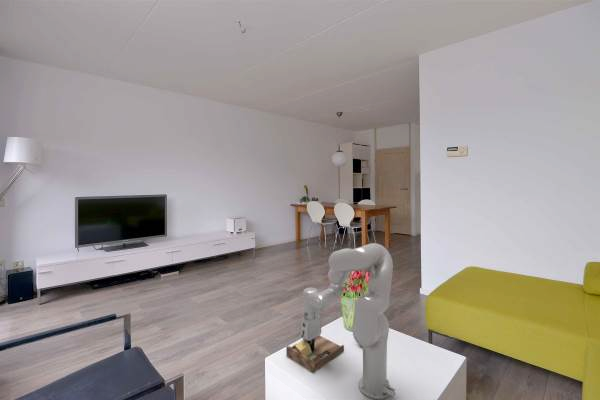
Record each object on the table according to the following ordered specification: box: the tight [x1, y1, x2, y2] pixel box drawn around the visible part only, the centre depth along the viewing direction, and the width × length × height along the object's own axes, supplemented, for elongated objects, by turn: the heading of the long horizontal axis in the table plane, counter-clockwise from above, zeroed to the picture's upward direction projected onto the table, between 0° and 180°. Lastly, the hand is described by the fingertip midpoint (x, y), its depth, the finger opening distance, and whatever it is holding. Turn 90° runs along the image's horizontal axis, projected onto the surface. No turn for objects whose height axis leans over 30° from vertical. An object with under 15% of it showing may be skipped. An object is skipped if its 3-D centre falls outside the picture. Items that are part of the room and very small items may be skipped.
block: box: [294, 340, 312, 357], centre depth 135 cm, size 5×5×5 cm
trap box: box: [285, 334, 345, 374], centre depth 140 cm, size 18×23×5 cm
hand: (311, 350), depth 138 cm, fingers closed
